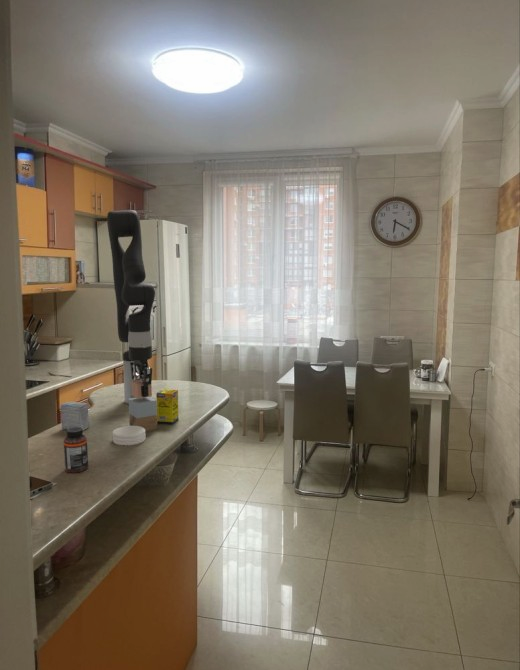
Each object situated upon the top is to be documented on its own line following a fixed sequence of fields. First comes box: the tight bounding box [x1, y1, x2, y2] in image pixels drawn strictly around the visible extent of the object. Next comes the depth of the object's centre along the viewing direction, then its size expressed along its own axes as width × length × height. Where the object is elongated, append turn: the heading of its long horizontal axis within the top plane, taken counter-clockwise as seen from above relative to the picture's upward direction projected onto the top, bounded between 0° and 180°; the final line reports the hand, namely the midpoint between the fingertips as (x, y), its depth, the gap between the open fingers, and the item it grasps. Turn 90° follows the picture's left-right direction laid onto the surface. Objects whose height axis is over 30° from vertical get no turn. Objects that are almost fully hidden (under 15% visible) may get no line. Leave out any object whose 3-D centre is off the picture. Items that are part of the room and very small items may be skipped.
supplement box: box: [155, 388, 179, 425], centre depth 184 cm, size 6×6×11 cm
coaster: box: [112, 425, 147, 447], centre depth 166 cm, size 10×10×4 cm
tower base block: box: [128, 412, 158, 432], centre depth 178 cm, size 7×7×5 cm
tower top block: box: [128, 397, 157, 418], centre depth 177 cm, size 7×7×5 cm
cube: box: [131, 380, 153, 399], centre depth 176 cm, size 5×5×5 cm
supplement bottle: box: [63, 427, 89, 474], centre depth 143 cm, size 6×6×11 cm
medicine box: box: [60, 401, 90, 432], centre depth 177 cm, size 8×4×9 cm, turn 71°
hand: (141, 394), depth 176 cm, fingers closed on cube, 5 cm apart
